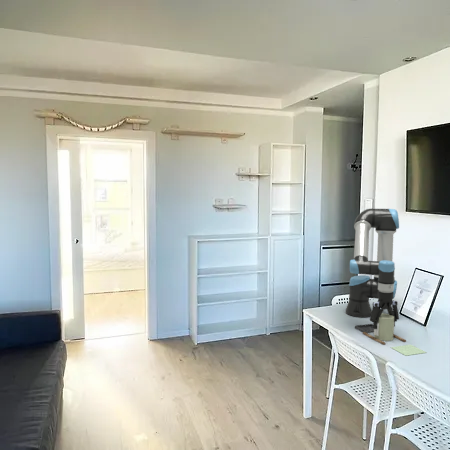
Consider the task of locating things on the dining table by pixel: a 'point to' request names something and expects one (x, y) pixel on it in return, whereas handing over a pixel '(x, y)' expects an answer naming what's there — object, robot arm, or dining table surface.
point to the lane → (382, 341)
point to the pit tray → (365, 328)
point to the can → (385, 327)
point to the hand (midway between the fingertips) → (383, 333)
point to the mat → (408, 350)
